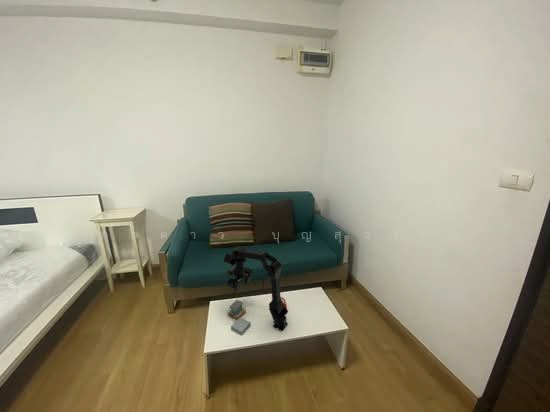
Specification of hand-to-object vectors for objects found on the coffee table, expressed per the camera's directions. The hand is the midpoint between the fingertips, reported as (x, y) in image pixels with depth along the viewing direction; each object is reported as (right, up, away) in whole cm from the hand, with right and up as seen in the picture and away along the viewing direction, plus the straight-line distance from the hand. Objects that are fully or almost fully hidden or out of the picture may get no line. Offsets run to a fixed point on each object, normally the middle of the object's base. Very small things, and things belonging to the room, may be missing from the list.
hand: (241, 289), depth 144 cm
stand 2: (+2, -18, -11) cm, 22 cm away
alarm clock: (+24, -14, +4) cm, 28 cm away
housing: (-3, -13, -2) cm, 14 cm away
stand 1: (-2, -16, -1) cm, 16 cm away
